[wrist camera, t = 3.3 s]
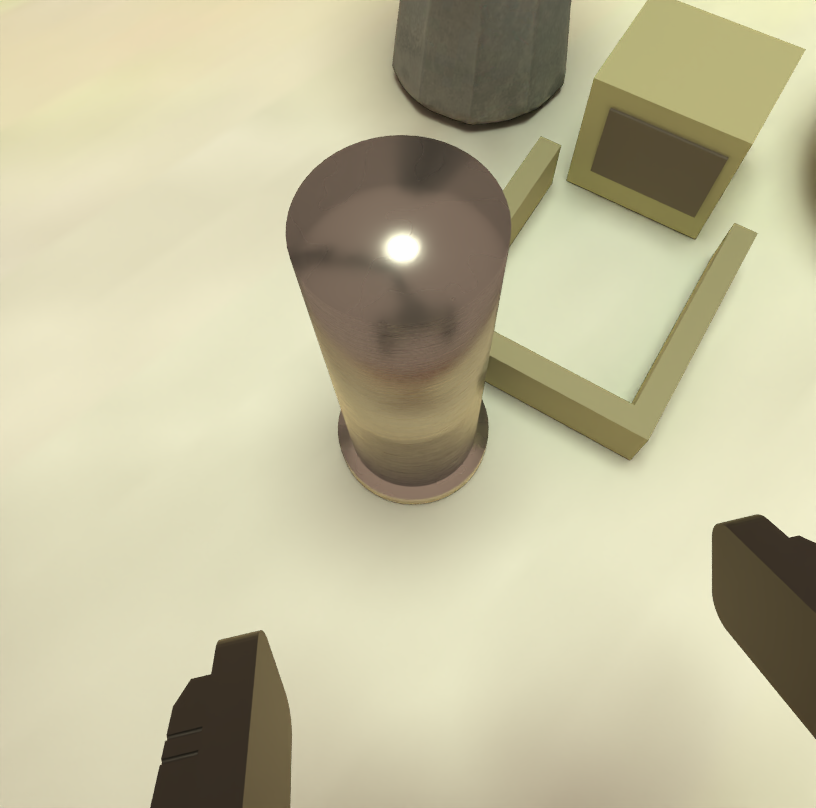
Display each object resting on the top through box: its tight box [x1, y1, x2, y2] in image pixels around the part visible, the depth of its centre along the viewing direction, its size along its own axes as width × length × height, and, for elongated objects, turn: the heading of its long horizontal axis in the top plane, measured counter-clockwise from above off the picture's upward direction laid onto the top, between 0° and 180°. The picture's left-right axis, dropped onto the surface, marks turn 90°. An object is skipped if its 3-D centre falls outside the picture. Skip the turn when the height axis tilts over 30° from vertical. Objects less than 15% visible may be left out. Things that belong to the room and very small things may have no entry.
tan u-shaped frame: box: [485, 0, 806, 460], centre depth 28 cm, size 16×10×6 cm, turn 148°
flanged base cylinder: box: [286, 135, 511, 504], centre depth 22 cm, size 6×6×14 cm
